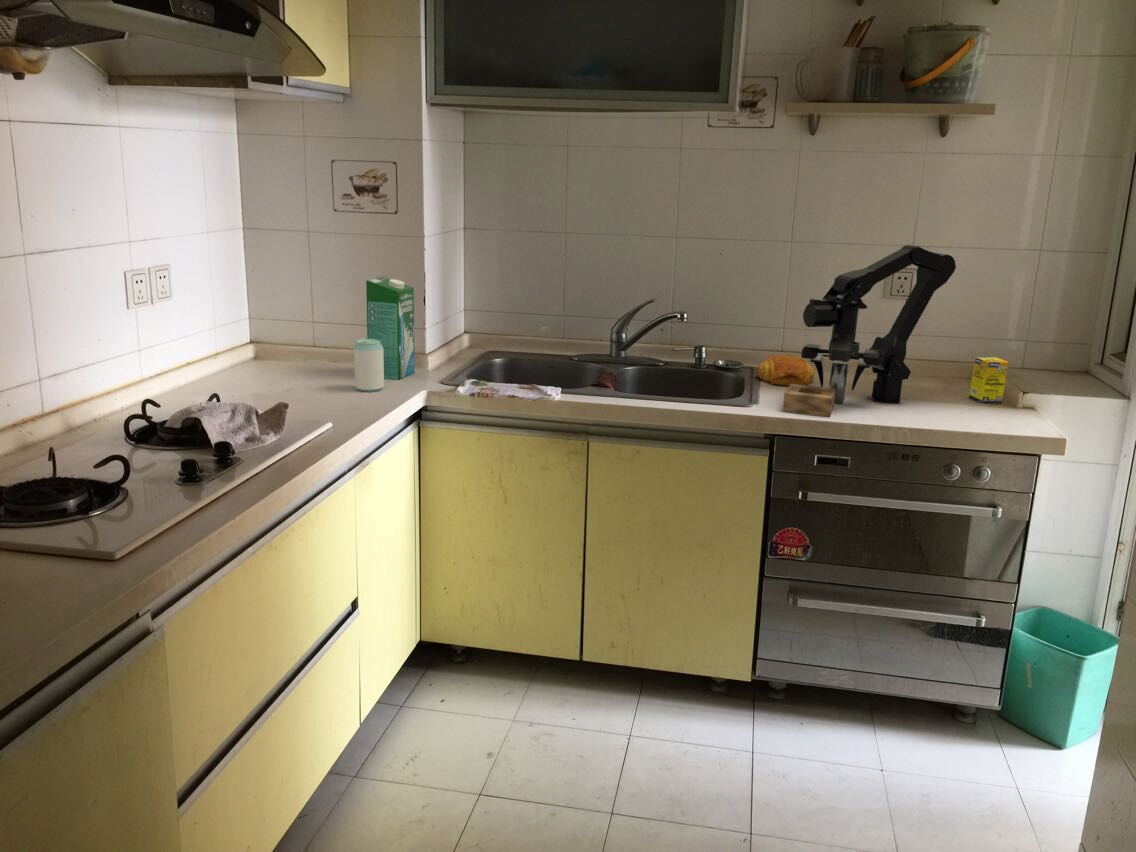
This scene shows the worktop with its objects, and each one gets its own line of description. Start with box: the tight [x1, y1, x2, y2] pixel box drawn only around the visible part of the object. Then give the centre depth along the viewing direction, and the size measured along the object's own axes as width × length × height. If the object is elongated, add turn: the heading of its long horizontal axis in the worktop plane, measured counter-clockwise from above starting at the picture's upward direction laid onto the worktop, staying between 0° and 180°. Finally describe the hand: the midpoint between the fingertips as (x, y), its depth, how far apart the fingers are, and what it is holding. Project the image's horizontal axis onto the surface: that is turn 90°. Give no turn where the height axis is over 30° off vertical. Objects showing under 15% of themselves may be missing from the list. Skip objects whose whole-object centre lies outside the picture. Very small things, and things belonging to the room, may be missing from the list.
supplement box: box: [968, 356, 1010, 404], centre depth 246 cm, size 6×6×11 cm
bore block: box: [782, 384, 836, 418], centre depth 232 cm, size 11×11×4 cm
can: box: [353, 338, 385, 393], centre depth 234 cm, size 7×7×12 cm
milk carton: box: [365, 276, 415, 381], centre depth 247 cm, size 9×9×25 cm
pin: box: [828, 360, 849, 405], centre depth 239 cm, size 4×4×10 cm
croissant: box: [756, 354, 816, 387], centre depth 261 cm, size 14×16×8 cm
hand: (837, 388), depth 239 cm, fingers open, 7 cm apart
